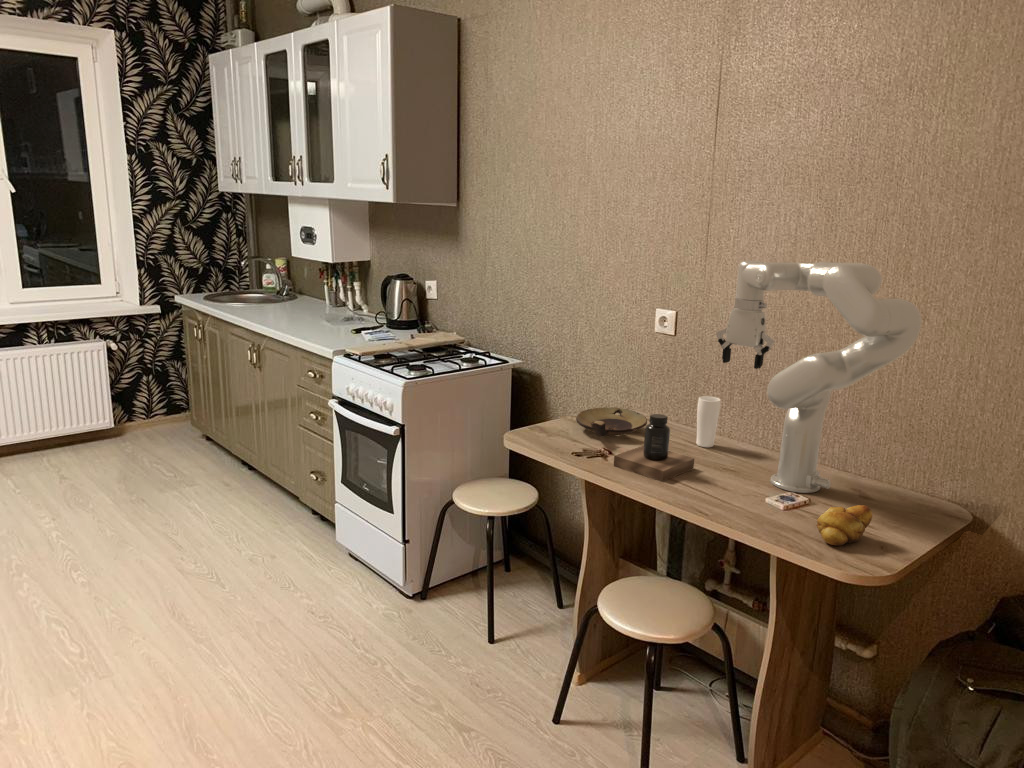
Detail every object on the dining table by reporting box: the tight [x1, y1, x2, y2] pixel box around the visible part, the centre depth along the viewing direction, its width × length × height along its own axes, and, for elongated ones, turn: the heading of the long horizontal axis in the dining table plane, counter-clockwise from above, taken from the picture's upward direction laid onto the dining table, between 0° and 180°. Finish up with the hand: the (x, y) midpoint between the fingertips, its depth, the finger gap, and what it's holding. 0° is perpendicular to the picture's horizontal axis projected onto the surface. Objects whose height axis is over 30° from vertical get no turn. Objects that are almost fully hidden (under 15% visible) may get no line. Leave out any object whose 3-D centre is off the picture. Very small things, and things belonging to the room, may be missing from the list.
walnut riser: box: [613, 445, 695, 482], centre depth 211 cm, size 16×16×3 cm
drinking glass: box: [696, 395, 722, 448], centre depth 231 cm, size 7×7×15 cm
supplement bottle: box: [643, 413, 671, 461], centre depth 209 cm, size 7×7×12 cm
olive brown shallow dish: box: [575, 406, 648, 438], centre depth 241 cm, size 22×30×8 cm
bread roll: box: [816, 504, 873, 546], centre depth 168 cm, size 13×10×8 cm
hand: (741, 365), depth 214 cm, fingers open, 9 cm apart
